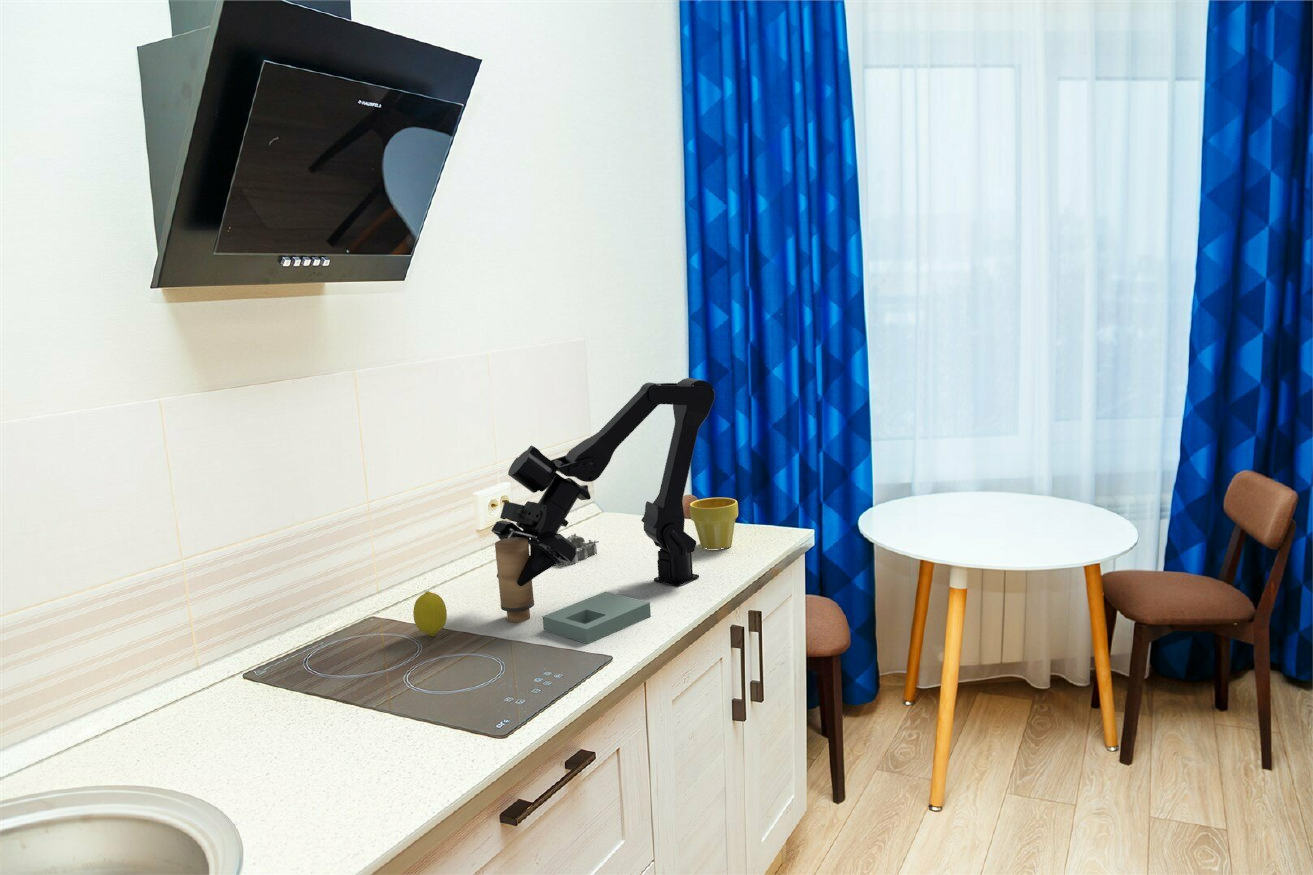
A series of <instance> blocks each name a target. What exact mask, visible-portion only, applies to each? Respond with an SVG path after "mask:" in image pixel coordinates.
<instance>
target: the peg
mask: <svg viewBox="0 0 1313 875" xmlns="http://www.w3.org/2000/svg"><path fill="white" fill-rule="evenodd" d="M494 546H495V550H494V551H495V560H496V568H497V573H498V578H497V581H498V589H499V597H500V599H499V600H500V610H502V611H504V612H506V617H507V621H508V622H510V623H521V622H526V621H527V620H529V619H531V611H530V609H531V608H532V607H534V606H535V600H534V599H535V598H534V589H533V579H532V580H530V581H529V582H528V583H526V584H525V585H523V586H519V585H518V584H517V581H518V579H519V576H520V574H521V572H522V570H523V568H524V566H525V564H526V562H527V560H528V559H529V557H530V544H529V543H528V539H526V538H521V537H515V538H506V539H502V540H500V539H499V540H497V541H495V543H494Z"/></svg>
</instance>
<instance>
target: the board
mask: <svg viewBox="0 0 1313 875" xmlns="http://www.w3.org/2000/svg"><path fill="white" fill-rule="evenodd" d="M651 612H652V611H651V602H649V601H646V600H641V599H638V598H633V597H629V596H625V595H622V594H617V593H613V592H610V591H603V592H600V593H599V594H597V595H593V596H591V597H587V598H585V599H584V600H581V601H578V602H576V603H573V604H571V605H568V606H566V607H563V608H560V609H558V610H555V611H553V612H550V613H547V614H545V615H542V617H541V618H542V625H543V631H544V632H547V633H551V634H555V635H558V636H560V637H564V638H568V639H571V640H574V641H577V642H581V643H584V644H587V645H588V644H591V643H593V642H595V641H598V640H600V639H602V638H604V637H606V636H609V635H612V634H614V633H616V632H618V631H621V630H623V629H625V628H627V627H630V626H633V625H634V624H636V623H638V622H640V621H643V620H645V619H647V618H650V617H652V614H651Z"/></svg>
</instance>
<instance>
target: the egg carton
mask: <svg viewBox="0 0 1313 875" xmlns="http://www.w3.org/2000/svg"><path fill="white" fill-rule="evenodd" d="M565 538H566V539H567V540H568V541H569V542H570V543H572V544H573V545H574V546H575V547H576V553H577V555H576V556H575V558H574V560H573V561H572V563H568V562H565V561H562V560H561V559H560V557H559V559H558V560H559V561H560V563H563V562H564V563H563V565H565V566H569V565H577V564H578V563H579V561H582V559H585V560H588V559H589V557H588V555H590V556H596V555H598V550H597V549H598V548H597V543H599V542H600V541H599V540H598V541H597V540H594V541H592V540H591V539H588V542H586V541H585V538H584V537H583V536H579V535H577V533H573V534H571V535H569V536H568V537H565ZM595 554H596V555H595ZM587 558H588V559H587ZM576 563H577V564H576Z"/></svg>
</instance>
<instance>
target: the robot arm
mask: <svg viewBox="0 0 1313 875" xmlns="http://www.w3.org/2000/svg"><path fill="white" fill-rule="evenodd" d="M715 398H716V391H715V389H714V388H713V386H712V384H711V383H709V382H708V381H706V380H704V379H696V378H691V377H686V378H682V379H681V380H680V381H678V382H664V383H663V382H662V383H656V382H645V383H644V384H642V385H641V387H640V389H639V390H638V391H637V392H636V393H635V394H634V395H633V396H632V397H631V399H629V400H628V402H626V403H625V405H624V406H623V407H621V408H620V409H619V411H618V412H616V414H615V415H613V417H612V418H611V419H610V420H608V422H607V423H606V424H605V425H604V426H603V427H602V428H601V429H599V431H598V432H596V433H595V434H593V435H591V436H590V437H588V438H585V439H584V440H582V441H580V442H579V443H578V444H577V445H575V446H574V447H572V448H571V449H569V450H568V451H567V453H566V454H565V455H564V456H560V457H556V458H554V459H549V458H548V457H547V456H546V455H545V454H543V453H542V452H541V450H540V449H538V448H536V447H535V446H533V445H529V447H528V449H526V450H524V451H523V452H522V453H521V454H520V455H519V456H516V457H515V459H514V460H513V462H512V463H511V465H510V466H509V469H508V472H507V474H508V476H509V477H510V478H511V479H513V480H514V481H516V482H517V483H519V485H521V486H522V487H524V488H526V489H527V490H528V491H530V492H531V493H532V494H535V493H537V492H542V493H543V494H542V496H541V497H540V499H539V501H538V502H535V501H529V500H528V501H526V503H524V505H523V504H520V503H515V502H510V501H506V500H505V501H503V506H502V510H501V514H500V517H499V518H500V519H502V520H497V521H496V522H495V523H494V525H493V527H492V528H491V532H492V533H493V534H494V535H495V536H497V537H498V539H499V540H502V539H506V538H515V537H521V538H526V539H528V543H529V554H530V557H529V559H528V560H527V562H526V564H525V566H524V568H523V570H522V572H521V574H520V576H519V579H518V581H517V584H518V585H519V586H523V585H525V584H526V583H528V582H529V581H530V580H532V581H533V579H535V578H537V577H538V576H539V575H540V574H542V573H544V572H546V571H547V570H549V569H551V568H552V567H554V566H556V565H560V564H561V562H560V561H559V560H558V559H559V557H560V559H561V560H562V561H565V562H568V563H572V561H573V560H574V558H575V556H576V555H577V553H576V547H575V546H574V545H573V544H572V543H570V542H569V541H568V540H567V539H566V538H567V537H565V536H564V535H562V534H561V533H558V532H559V531H560V529H561V527H564V528H566V527H567V526H568V524H569V521H568V520H567V519H566V518H567V517H568V515H569V514H570V511H571V510H572V508H573V507H574V505H575V504H576V502H577V501H578V499H579V500H580V501H588V500H591V498H592V496H591V493H590V491H589V486H588V484H581V485H580V484H579V483H578V482H576V481H575V480H574V479H572V478H575V479H577V480H579V481H581V482H584V483H587V482H588V483H590V482H591V483H592V482H595V481H596V480H598V479H599V478H600V476H601V475H602V474H603V472H604V471H605V469H606V468H607V467H608V465H609V464H610V462H611V459H612V457H613V455H614V452H615V451H616V449H617V448H618V447H619V446H620V445H621V444H622V443H623V442H624V441H625V440H626V439H627V438H628V437H629V436H630V435H631V434H632V433H633V432H634V430H635V429H637V427H639V425H641V424H642V422H643V421H644V420H645V419H646V418H647V417H649V415H651V414H652V412H654V410H656V408H657V407H658V406H660V405H672V410H673V417H674V426H673V431H672V436H671V440H670V444H669V449H668V452H667V458H666V462H665V465H664V470H663V476H662V479H661V483H660V489H659V492H658V495H657V496H656V497H655V500H654V501H653V502H650V501H646V502H645V506H644V507H645V508H644V515H643V517H642V518H641V520H640V521H641V522H642V523H643V532H644V533H645V535H646V536H647V537H648V538H649V539H650V540H652V541H653V543H654V545H655V546H656V547H658V548H659V550H657V558H658V559H657V561H656V562H657V573H658V575H657V576H656V577H653V582H657V583H662V584H665V585H670V586H674V587H680V586H683V585H685V584H687V583H689V582H692V581H694V580H696V579H699V578H700V575H699V574H696V573H694V572H693V571H694V570H693V557H692V553H694V552H695V550H696V546H697V541H696V540H695V539H694V538H693V537H692V536H690V535H689V534H688V532H687V533H686V532H685V520H686V517H685V509H684V503H683V501H684V495H685V492H686V491H685V490H686V487H687V482H688V478H689V474H690V473H689V472H690V469H691V465H692V460H693V455H694V451H695V447H696V443H697V438H698V434H699V430H700V428H701V426H702V424H703V423H704V422H705V420H706V419H707V417H709V414H710V411H711V409H712V406H713V404H714V401H715ZM557 472H558V473H557ZM560 474H561V475H564V476H565V477H566V478H564V477H563V476H561V475H560ZM507 520H508V521H507ZM514 522H515V523H514ZM496 578H497V579H498V572H497V574H496Z"/></svg>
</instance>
